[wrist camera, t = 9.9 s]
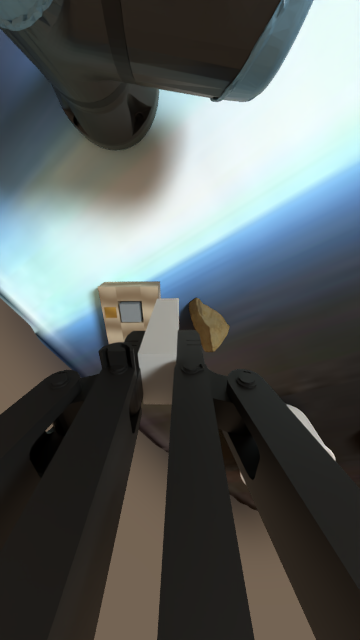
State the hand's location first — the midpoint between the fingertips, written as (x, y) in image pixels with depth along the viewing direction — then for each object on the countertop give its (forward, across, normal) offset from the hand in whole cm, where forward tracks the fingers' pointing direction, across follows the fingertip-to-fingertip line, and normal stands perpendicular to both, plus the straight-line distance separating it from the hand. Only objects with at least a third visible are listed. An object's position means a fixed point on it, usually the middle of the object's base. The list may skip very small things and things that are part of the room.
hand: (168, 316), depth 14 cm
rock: (+30, +7, -13) cm, 33 cm away
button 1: (+28, -10, -10) cm, 32 cm away
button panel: (+29, -10, -20) cm, 37 cm away
